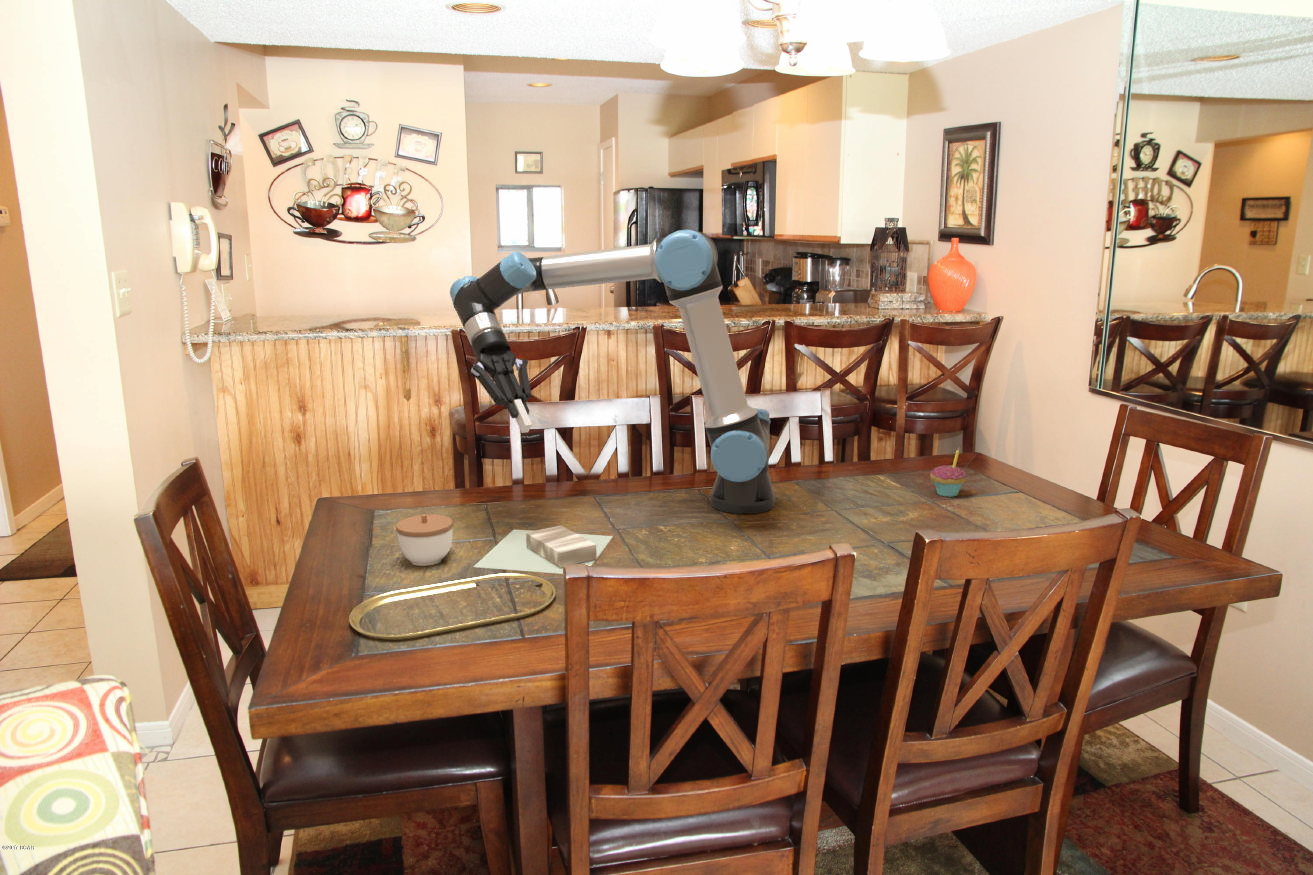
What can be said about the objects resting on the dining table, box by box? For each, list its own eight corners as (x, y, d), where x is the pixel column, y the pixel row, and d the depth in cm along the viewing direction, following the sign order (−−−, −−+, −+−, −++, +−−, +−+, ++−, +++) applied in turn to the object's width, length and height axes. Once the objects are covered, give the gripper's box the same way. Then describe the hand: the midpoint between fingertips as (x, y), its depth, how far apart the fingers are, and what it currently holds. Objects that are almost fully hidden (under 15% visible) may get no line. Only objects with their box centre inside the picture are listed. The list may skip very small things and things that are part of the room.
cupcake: (969, 492, 220) (973, 445, 217) (960, 501, 213) (964, 452, 210) (934, 487, 224) (937, 440, 221) (924, 495, 217) (927, 447, 214)
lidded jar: (405, 574, 169) (401, 527, 167) (393, 556, 179) (390, 511, 176) (461, 564, 174) (458, 518, 172) (446, 547, 183) (444, 503, 181)
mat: (613, 538, 188) (613, 536, 188) (583, 578, 167) (583, 575, 167) (513, 532, 192) (513, 529, 192) (473, 569, 171) (473, 566, 171)
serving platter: (570, 612, 153) (570, 603, 153) (357, 653, 139) (357, 644, 139) (536, 574, 170) (536, 567, 170) (343, 608, 155) (342, 599, 155)
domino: (525, 532, 181) (560, 552, 169) (560, 525, 185) (596, 544, 174) (526, 547, 181) (560, 568, 170) (561, 539, 186) (596, 559, 175)
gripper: (510, 348, 199) (549, 434, 189) (454, 353, 191) (492, 443, 182) (520, 326, 193) (560, 414, 184) (463, 330, 186) (502, 422, 176)
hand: (526, 428), depth 183 cm, fingers closed
